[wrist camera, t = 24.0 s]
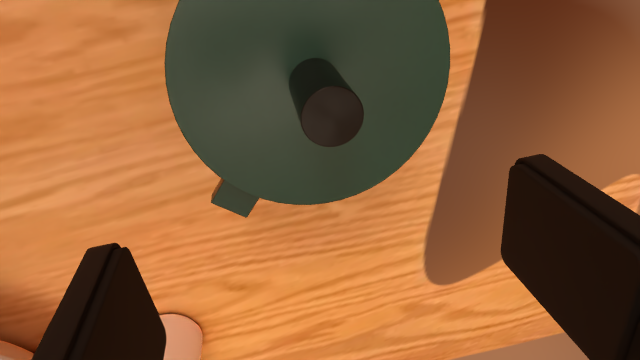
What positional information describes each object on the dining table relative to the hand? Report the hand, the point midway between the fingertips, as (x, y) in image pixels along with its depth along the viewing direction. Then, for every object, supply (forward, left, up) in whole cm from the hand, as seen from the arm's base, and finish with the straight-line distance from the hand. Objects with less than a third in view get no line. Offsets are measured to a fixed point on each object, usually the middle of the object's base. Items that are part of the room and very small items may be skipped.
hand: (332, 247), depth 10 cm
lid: (+1, +1, -13) cm, 13 cm away
